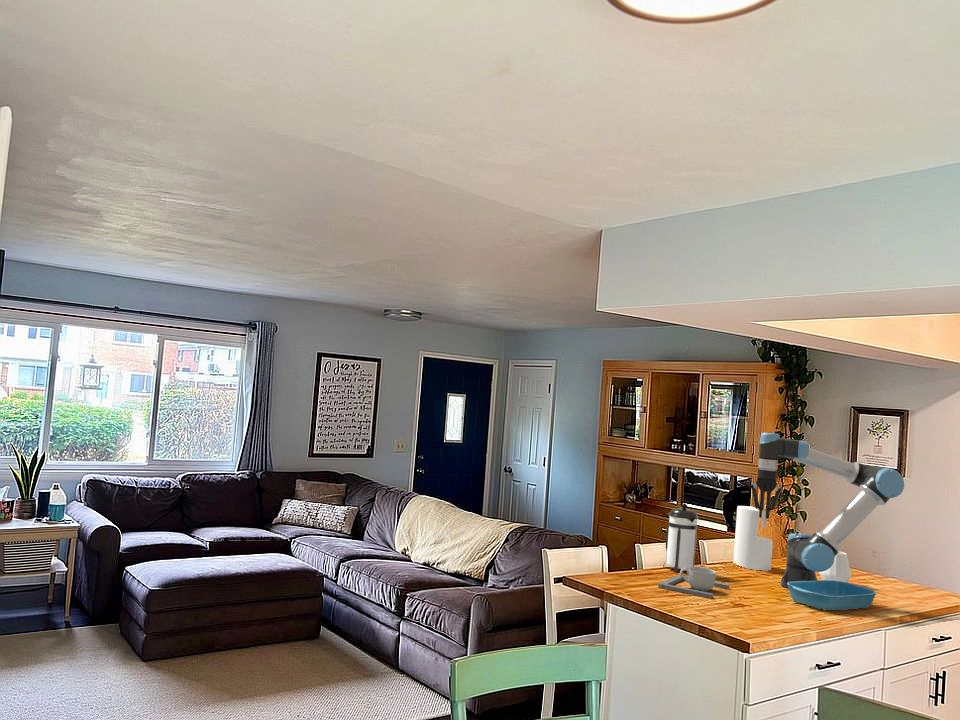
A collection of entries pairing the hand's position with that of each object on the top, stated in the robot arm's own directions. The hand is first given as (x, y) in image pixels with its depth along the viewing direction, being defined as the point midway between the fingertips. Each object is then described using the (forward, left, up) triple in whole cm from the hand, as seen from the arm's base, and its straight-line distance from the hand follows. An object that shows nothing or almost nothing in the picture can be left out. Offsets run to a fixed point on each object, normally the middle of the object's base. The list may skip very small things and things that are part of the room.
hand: (763, 526), depth 326 cm
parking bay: (+20, +22, -26) cm, 40 cm away
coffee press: (+38, -10, -27) cm, 47 cm away
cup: (-22, -51, -27) cm, 62 cm away
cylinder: (+15, -53, -27) cm, 61 cm away
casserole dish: (-27, 0, -27) cm, 38 cm away
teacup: (+20, +22, -27) cm, 40 cm away
